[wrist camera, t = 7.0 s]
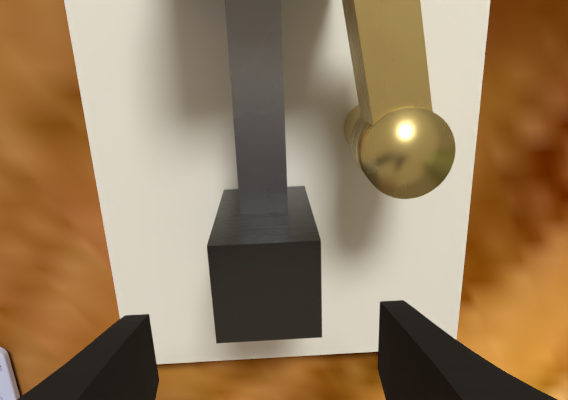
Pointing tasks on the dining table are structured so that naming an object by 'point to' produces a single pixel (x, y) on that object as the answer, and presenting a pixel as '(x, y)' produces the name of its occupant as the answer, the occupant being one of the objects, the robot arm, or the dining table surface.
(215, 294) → the upright post with base
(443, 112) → the board
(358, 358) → the dining table surface
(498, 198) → the dining table surface
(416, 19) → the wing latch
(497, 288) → the dining table surface
